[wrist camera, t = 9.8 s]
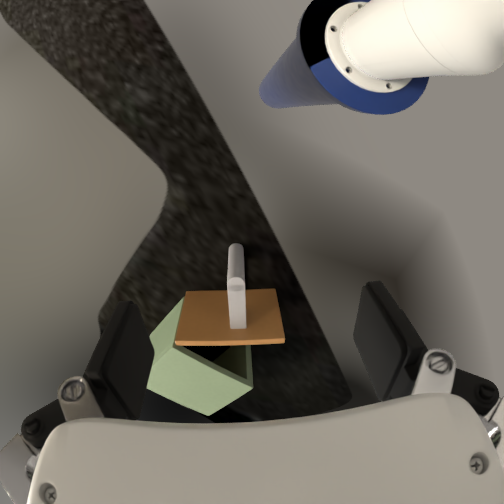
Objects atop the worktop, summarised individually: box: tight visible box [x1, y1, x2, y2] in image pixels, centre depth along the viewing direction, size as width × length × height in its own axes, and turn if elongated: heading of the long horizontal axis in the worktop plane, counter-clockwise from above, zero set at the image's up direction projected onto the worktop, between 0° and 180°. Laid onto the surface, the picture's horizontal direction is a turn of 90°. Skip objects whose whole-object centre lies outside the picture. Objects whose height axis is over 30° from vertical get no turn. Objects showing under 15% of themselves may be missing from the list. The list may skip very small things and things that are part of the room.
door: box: [175, 243, 285, 346], centre depth 34 cm, size 8×12×13 cm, turn 91°
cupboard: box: [147, 297, 253, 416], centre depth 39 cm, size 10×12×13 cm
